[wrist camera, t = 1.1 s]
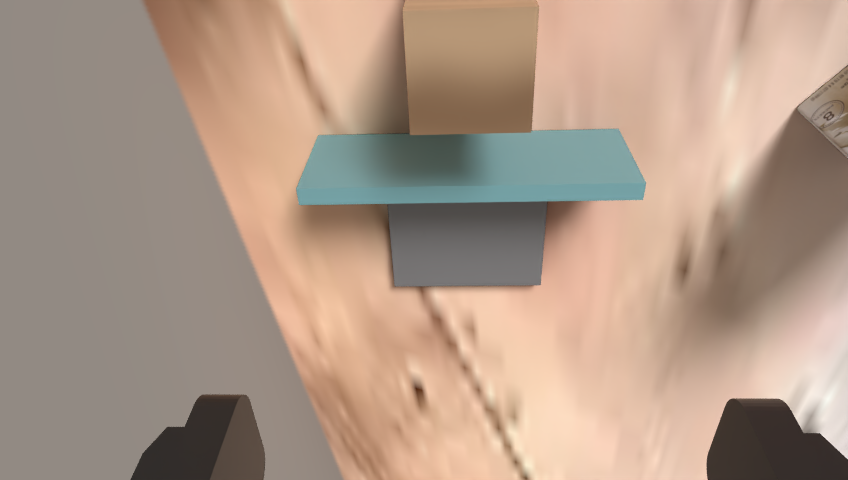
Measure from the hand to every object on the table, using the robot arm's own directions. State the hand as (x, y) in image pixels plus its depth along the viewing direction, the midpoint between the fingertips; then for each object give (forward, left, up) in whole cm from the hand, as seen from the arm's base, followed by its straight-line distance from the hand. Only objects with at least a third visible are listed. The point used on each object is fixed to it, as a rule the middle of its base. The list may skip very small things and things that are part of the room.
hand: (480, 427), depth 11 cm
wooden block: (0, 0, -28) cm, 28 cm away
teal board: (+8, 0, -28) cm, 29 cm away
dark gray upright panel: (+15, 0, -28) cm, 31 cm away
